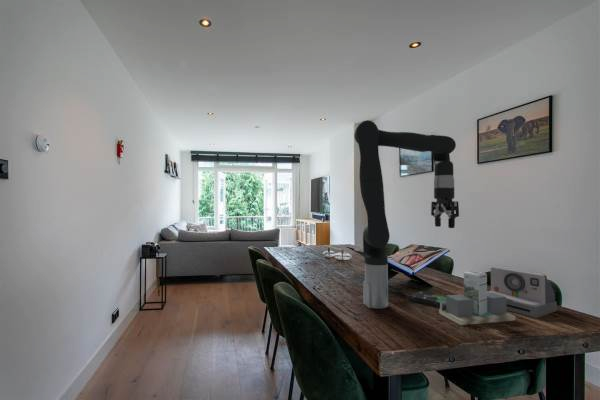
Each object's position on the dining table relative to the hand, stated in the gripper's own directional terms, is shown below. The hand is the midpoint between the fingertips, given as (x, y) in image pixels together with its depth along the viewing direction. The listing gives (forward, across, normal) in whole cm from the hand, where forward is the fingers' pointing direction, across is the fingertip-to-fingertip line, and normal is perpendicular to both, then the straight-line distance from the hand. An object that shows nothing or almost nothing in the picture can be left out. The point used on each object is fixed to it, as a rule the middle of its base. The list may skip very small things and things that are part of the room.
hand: (444, 227), depth 129 cm
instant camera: (+33, +6, +30) cm, 44 cm away
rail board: (+32, +12, +4) cm, 35 cm away
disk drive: (+33, -8, -2) cm, 34 cm away
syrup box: (+31, +12, +4) cm, 33 cm away
